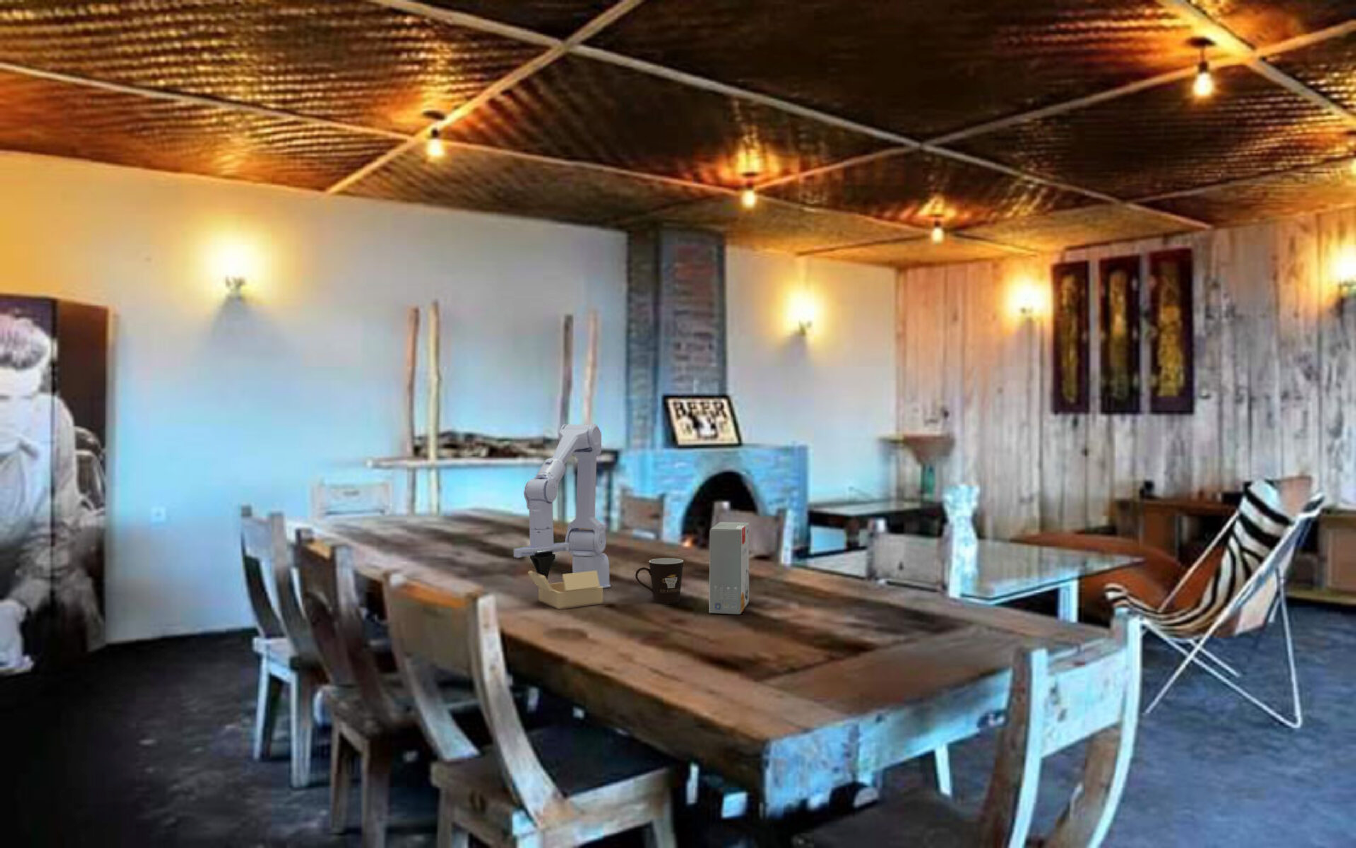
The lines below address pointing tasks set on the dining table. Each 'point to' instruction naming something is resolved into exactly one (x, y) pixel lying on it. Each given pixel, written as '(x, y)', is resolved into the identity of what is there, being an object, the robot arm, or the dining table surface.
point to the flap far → (540, 580)
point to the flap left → (580, 580)
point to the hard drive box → (729, 568)
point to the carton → (570, 596)
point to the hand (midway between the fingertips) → (542, 583)
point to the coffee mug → (664, 579)
